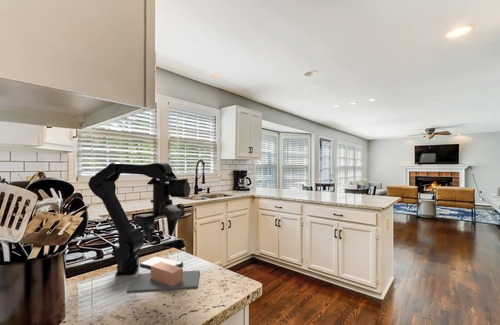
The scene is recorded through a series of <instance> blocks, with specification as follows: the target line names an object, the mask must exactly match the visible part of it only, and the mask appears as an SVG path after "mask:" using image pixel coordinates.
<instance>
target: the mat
mask: <svg viewBox="0 0 500 325" xmlns="http://www.w3.org/2000/svg"><path fill="white" fill-rule="evenodd" d="M199 279H200V270H186V271H185V270H183V281H182V282H180V283H178V284H177V285H175V286H170V285H167V284H164V283H161V282H159V281H156V280H153V279H151V272H150V273H149V272H148V273H146V272H145V273H138V274H136V276H135V278H134V279H133V281H132V282H131V283H130V285H129V286H128V287H127V289H126V293H139V292H140V293H141V292H142V293H143V292H154V291H155V292H158V291H169V290H170V291H171V290H187V289H198V287H199V286H198V285H199Z"/></svg>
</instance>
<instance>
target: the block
mask: <svg viewBox="0 0 500 325" xmlns="http://www.w3.org/2000/svg"><path fill="white" fill-rule="evenodd" d="M183 271H184V268H183V267H177V266H173V265H170V264H167V263H163V262H159V263H157V264H154V265H152V266H151V269H150V273H151V279H153V280H156V281H159V282H161V283H164V284H167V285H170V286H175V285H177V284H178V283H180V282H182V281H183Z"/></svg>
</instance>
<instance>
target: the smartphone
mask: <svg viewBox="0 0 500 325" xmlns="http://www.w3.org/2000/svg"><path fill="white" fill-rule="evenodd" d="M159 262H163V263H167V264H170V265H173V266H177V267H180V268H182V267H184V263H183V261H180V260H175V259H170V258H164V257H161V256H153V257H150V258H149V259H146V260H144V261H141V262H139V267H141V268H145V267H146V269H149V268H150V269H149V270H151V266H152V265H154V264H157V263H159Z"/></svg>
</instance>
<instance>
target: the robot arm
mask: <svg viewBox="0 0 500 325" xmlns="http://www.w3.org/2000/svg"><path fill="white" fill-rule="evenodd" d="M172 169H173V168H172V166H171V165H170V164H169V163H167V162H153V163H147V164H141V163H139V164H138V163H137V164H136V163H135V164H134V163H122V162H110V163H109V164H108V165H107V166H106V167H104V168H103V169H101V170H100V171H98V172H97V173H96V174H95V175H93V176H91V177H90V178H89V181H88V182H87V183H88V187H89V189H90V190H91V192H92V193H93V195H95V196H96V197H98V198H99V199H100V200H101V201H102V204H103V205H104V207H105V209H106V211H107V213H108V215H109V218H110V219H111V221H112V223H113V224H114V227H115V229H116V231H117V234H118V235H117V244H118V248H116V250H115V251H114V252H113V253H112V255H113V258H114V259H115V260H116V261H117V262H116V268H117V271H116V272H115V276H127V275H128V276H129V275H135V274H136V272H137V271H138V269H139V268H140V257H139V256H138V253H140V251H141V249H142V248H143V246H144V243H145V238H144V237H145V236H146V239H147V241H148V243H151V244H152V243H153V239H154V238H153V230H154V227H155V226H156V224H155V223H154V222H155V220H160V219H164V218H166V224H167V230H168V235H169V236H170V237H173V234H174V232H175V229H176V225H177V224H178V222H179V221H180V220H181V219H183V217H185V216H186V215H185V214H186V213H185V212H186V211H185V205H184V203H178V204H173V198H188V197H189V196H190V194H191V186H190V183H189V180H188V178H177V176H176V174H175V173H174V171H173V170H172ZM121 174H126V175H127V174H128V175H129V174H130V175H142V176H146V177H149V178H151V179H150V180H149V181H148V182H146V184H147V185H150V186H152V199H150V203H151V204H152V210H150V214H148V213H141V214H136V215H135V216H134V218H133V224H135V225H137V226H138V227H137V228H135V227H134V226H133V225H131V222H130V221H129V218H128V216H127V214H126V213H125V210H124V208H123V206H122V205H121V202H120V200H119V199H118V196H117V195H116V187H117V186H116V182H117V180H119V178H120V175H121ZM170 197H171V198H172V199H171V198H170ZM141 229H142V230H141ZM142 231H143V233H144V234H143V233H142Z"/></svg>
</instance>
